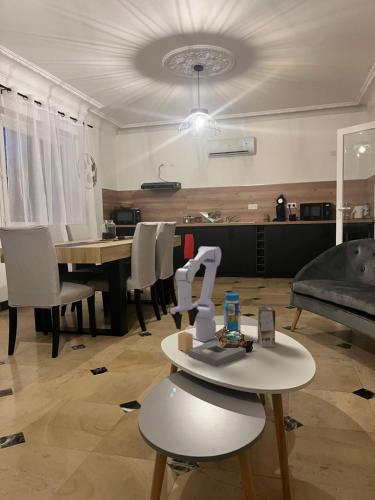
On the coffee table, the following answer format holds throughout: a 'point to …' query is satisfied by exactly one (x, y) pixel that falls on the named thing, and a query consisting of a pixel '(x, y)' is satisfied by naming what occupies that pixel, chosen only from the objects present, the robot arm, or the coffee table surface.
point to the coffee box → (266, 326)
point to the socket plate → (215, 353)
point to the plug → (185, 341)
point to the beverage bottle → (232, 312)
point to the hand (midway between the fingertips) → (185, 327)
